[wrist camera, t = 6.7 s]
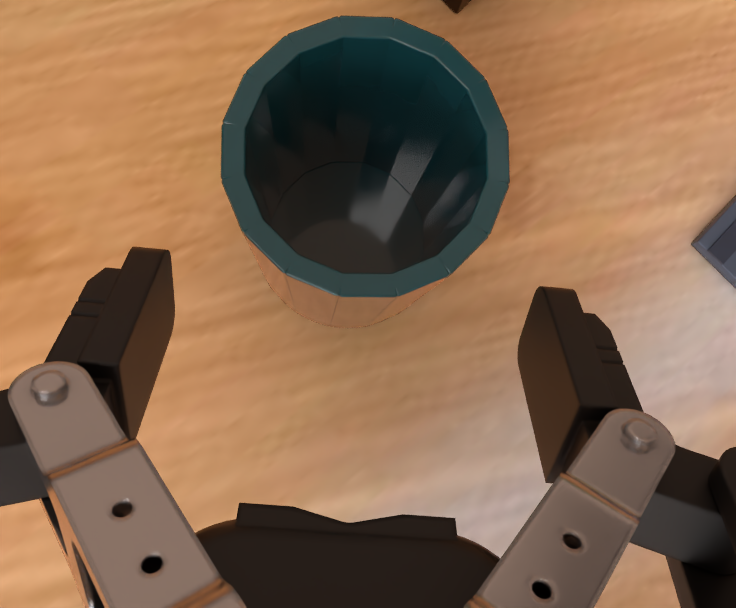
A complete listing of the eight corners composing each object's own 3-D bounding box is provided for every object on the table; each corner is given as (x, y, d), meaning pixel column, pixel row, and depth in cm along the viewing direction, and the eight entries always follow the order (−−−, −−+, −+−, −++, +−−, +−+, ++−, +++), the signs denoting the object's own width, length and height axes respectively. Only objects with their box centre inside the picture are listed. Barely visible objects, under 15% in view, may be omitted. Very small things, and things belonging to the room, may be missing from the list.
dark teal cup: (220, 238, 23) (158, 149, 14) (346, 118, 24) (366, -41, 15) (347, 365, 23) (368, 358, 14) (470, 241, 24) (567, 157, 15)
